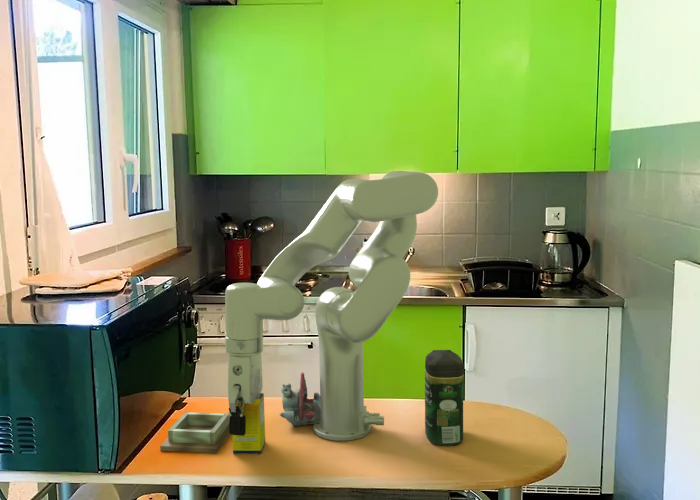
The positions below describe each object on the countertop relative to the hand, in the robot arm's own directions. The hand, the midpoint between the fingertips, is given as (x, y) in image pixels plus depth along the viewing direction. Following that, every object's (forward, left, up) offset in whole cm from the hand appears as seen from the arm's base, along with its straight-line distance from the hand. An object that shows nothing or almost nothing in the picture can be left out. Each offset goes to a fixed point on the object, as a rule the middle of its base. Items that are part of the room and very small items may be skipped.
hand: (244, 425), depth 141 cm
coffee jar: (-41, -9, -5) cm, 42 cm away
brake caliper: (-9, -16, -5) cm, 19 cm away
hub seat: (+11, -4, -5) cm, 13 cm away
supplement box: (-1, 0, -5) cm, 6 cm away
